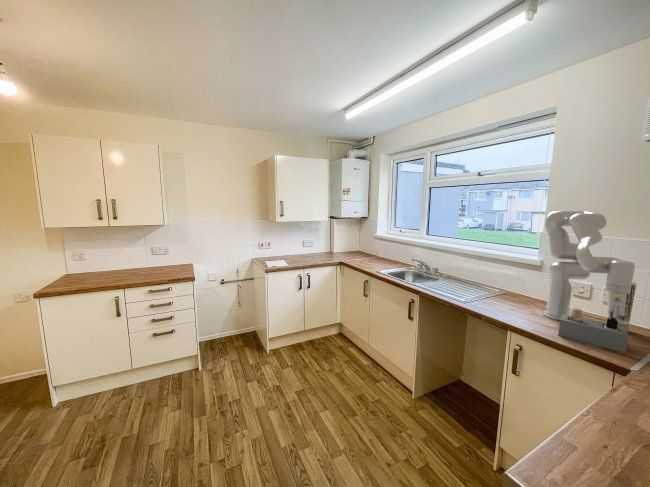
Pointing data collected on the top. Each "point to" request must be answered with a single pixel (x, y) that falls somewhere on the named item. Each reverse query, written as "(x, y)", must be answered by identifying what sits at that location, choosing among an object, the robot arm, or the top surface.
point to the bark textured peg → (627, 308)
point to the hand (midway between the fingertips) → (611, 327)
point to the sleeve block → (594, 333)
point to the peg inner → (575, 314)
